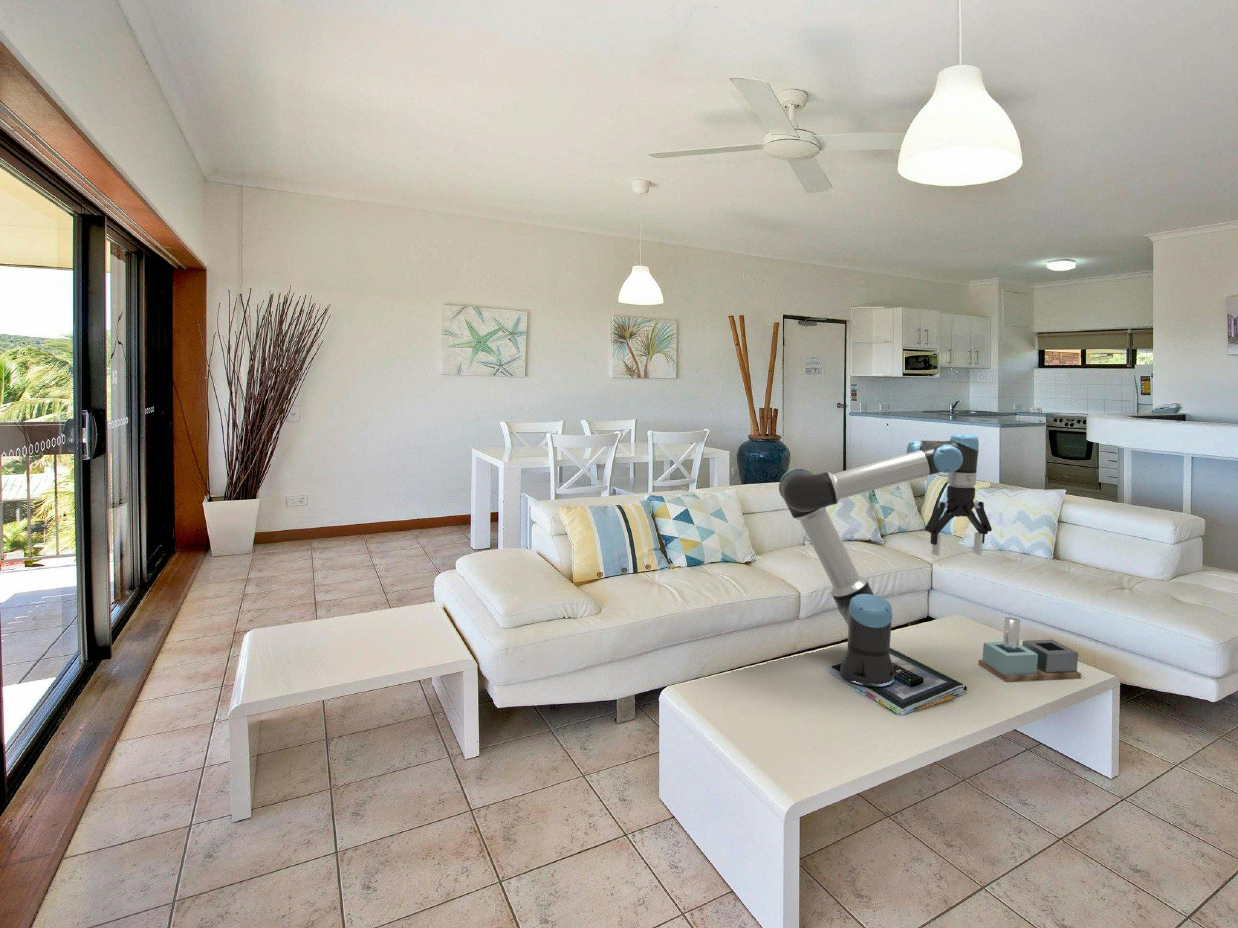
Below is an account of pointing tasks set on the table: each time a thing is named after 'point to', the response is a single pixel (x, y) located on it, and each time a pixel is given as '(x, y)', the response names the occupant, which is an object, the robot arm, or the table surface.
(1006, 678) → the tool board
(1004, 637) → the translucent peg
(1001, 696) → the table surface
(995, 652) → the teal square holder
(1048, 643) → the socket block
